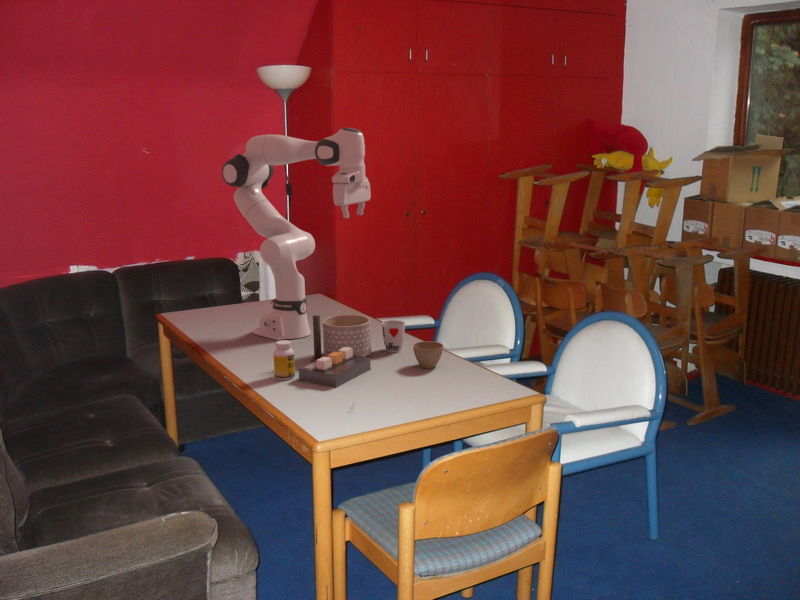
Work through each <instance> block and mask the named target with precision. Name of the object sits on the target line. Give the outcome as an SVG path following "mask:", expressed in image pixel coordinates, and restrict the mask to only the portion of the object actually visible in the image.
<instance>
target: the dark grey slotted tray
mask: <svg viewBox="0 0 800 600" xmlns="http://www.w3.org/2000/svg"><path fill="white" fill-rule="evenodd" d="M324 357H328V355H327V356H325V355H324ZM371 369H372V368H371V357H370V356H369V357H368V356H366V357H364V356H357V355H353V356H352V357H350V358H348V359H343V361H342V362H340V363H337V364H332V366H331V367H329V368H327V369H325V370H323V369H318V368H317V363H316V361H314V362H312V363H311V362H310V363H308V364H305V365H302V366H301V367H299V368H298V381H300V382H304V383H305V382H306V383H309V384H314V385H319V386H327V387H330V388H331V387H332V388H338V387H340V386H342V385H344V384H346V383H348V382H349V381H351V380H353V379H356V378H357V377H358V376H361V375H363V374H365V373H367V372H368V371H370V370H371Z"/></svg>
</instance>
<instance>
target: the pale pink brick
mask: <svg viewBox="0 0 800 600" xmlns="http://www.w3.org/2000/svg"><path fill="white" fill-rule="evenodd" d="M338 352H340V353H342V356H343V359H348V358H350V357H352V356H353V348H349V347H344V348H342V349H339V350H338Z"/></svg>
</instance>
